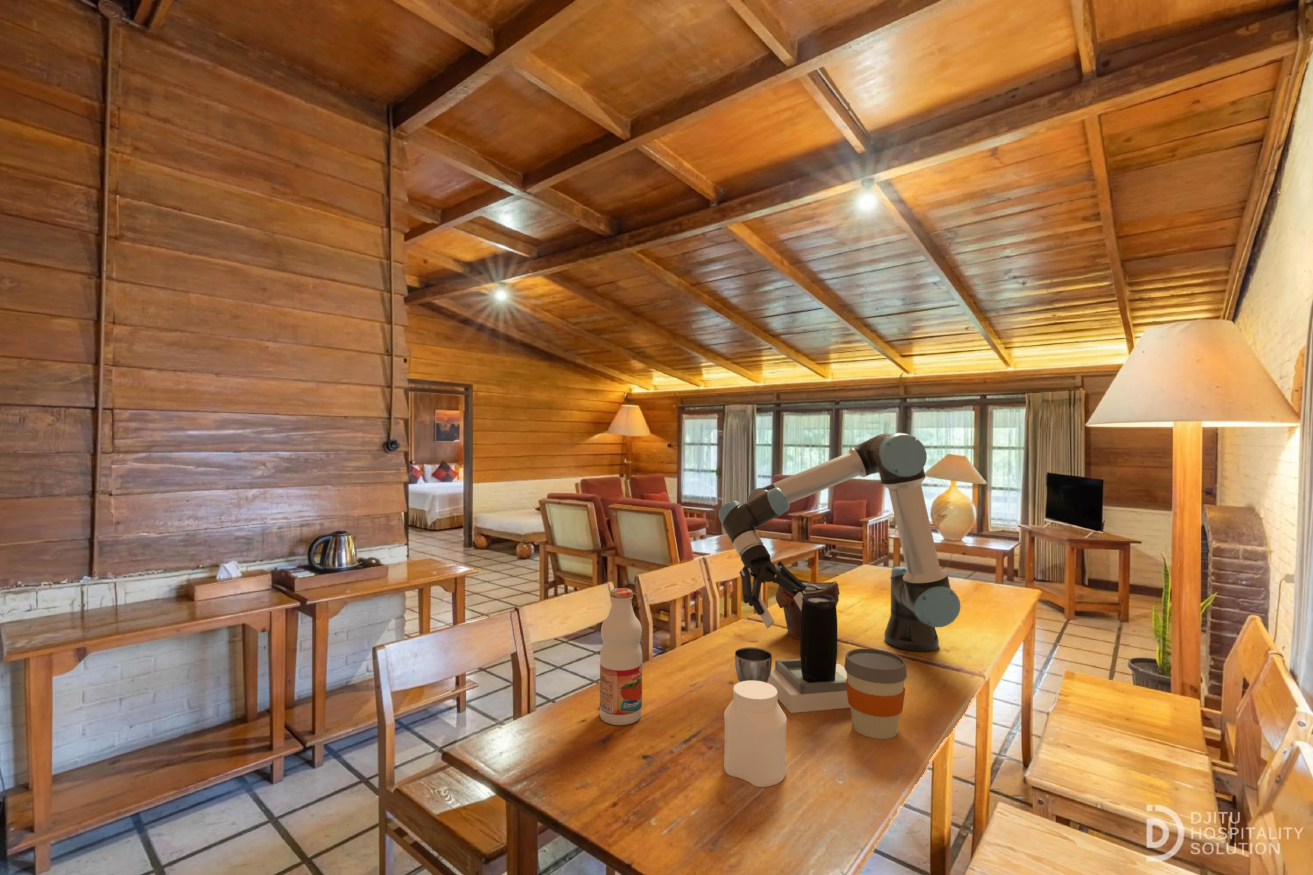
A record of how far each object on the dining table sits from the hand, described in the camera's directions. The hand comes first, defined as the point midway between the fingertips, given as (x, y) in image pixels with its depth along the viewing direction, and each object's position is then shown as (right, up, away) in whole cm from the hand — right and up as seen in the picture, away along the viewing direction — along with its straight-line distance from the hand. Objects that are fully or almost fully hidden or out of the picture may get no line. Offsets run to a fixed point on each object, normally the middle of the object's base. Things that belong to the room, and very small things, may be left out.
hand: (790, 620), depth 148 cm
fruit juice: (-42, -16, -18) cm, 48 cm away
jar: (-16, -16, -38) cm, 44 cm away
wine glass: (-13, -16, -21) cm, 29 cm away
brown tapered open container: (+14, -16, +36) cm, 41 cm away
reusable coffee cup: (+13, -16, -23) cm, 31 cm away
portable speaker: (+5, -12, -8) cm, 15 cm away
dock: (+7, -16, -6) cm, 18 cm away
